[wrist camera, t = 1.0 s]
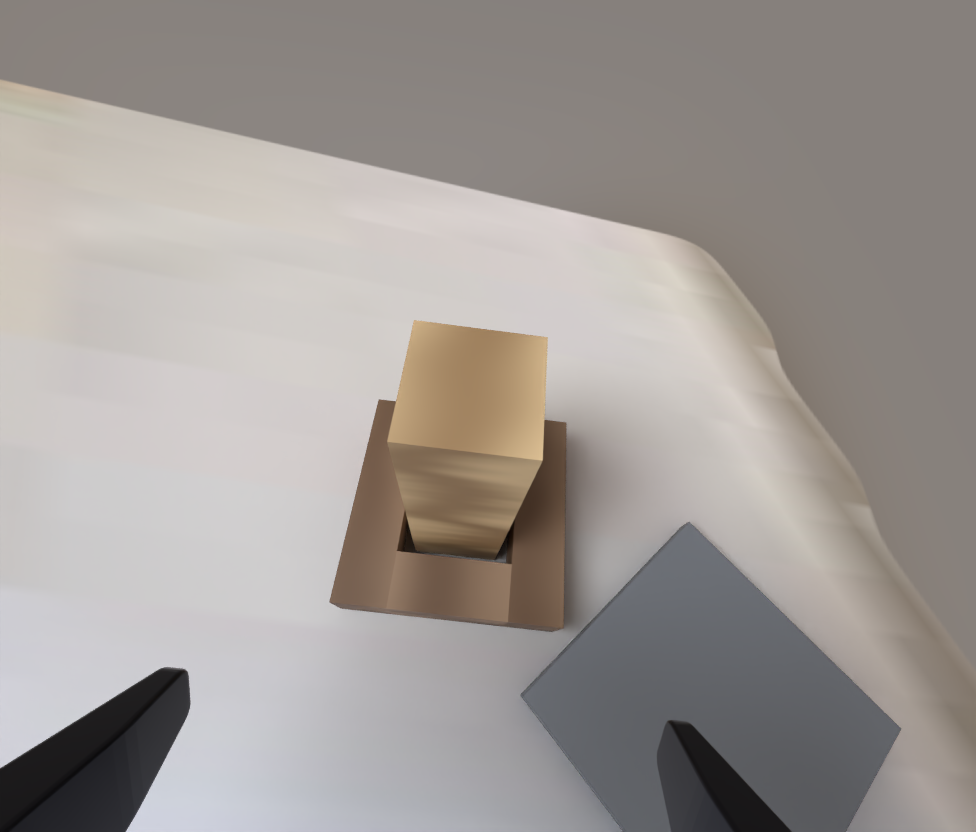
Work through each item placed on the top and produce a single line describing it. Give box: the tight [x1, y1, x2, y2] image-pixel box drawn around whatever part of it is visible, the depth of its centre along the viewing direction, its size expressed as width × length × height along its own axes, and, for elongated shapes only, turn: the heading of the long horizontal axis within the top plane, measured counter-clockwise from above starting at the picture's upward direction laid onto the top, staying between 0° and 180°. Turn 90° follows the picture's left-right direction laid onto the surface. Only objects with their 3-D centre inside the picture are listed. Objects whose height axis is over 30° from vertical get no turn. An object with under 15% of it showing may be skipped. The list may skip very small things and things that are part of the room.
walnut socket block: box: [330, 400, 566, 632], centre depth 23 cm, size 10×10×2 cm
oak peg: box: [387, 320, 548, 560], centre depth 18 cm, size 4×4×13 cm
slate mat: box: [521, 522, 901, 832], centre depth 20 cm, size 12×12×1 cm
